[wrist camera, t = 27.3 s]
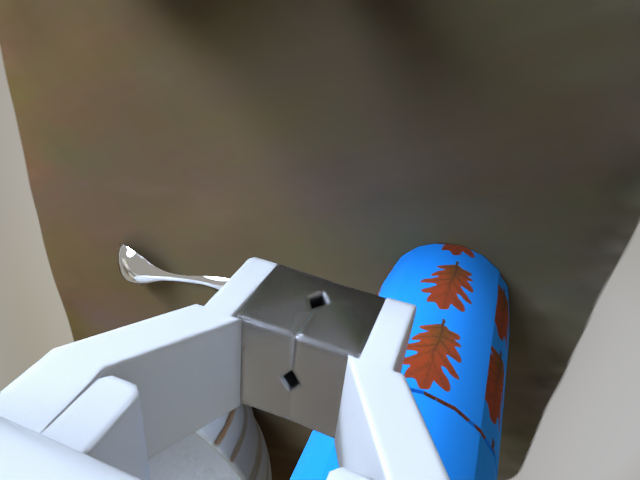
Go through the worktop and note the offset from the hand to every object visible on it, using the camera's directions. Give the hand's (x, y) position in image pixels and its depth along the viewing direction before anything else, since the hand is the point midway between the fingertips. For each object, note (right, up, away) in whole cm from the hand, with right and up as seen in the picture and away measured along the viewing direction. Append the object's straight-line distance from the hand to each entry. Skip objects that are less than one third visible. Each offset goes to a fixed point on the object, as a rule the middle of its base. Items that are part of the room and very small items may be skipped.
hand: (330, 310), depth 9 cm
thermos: (+11, -4, +36) cm, 38 cm away
